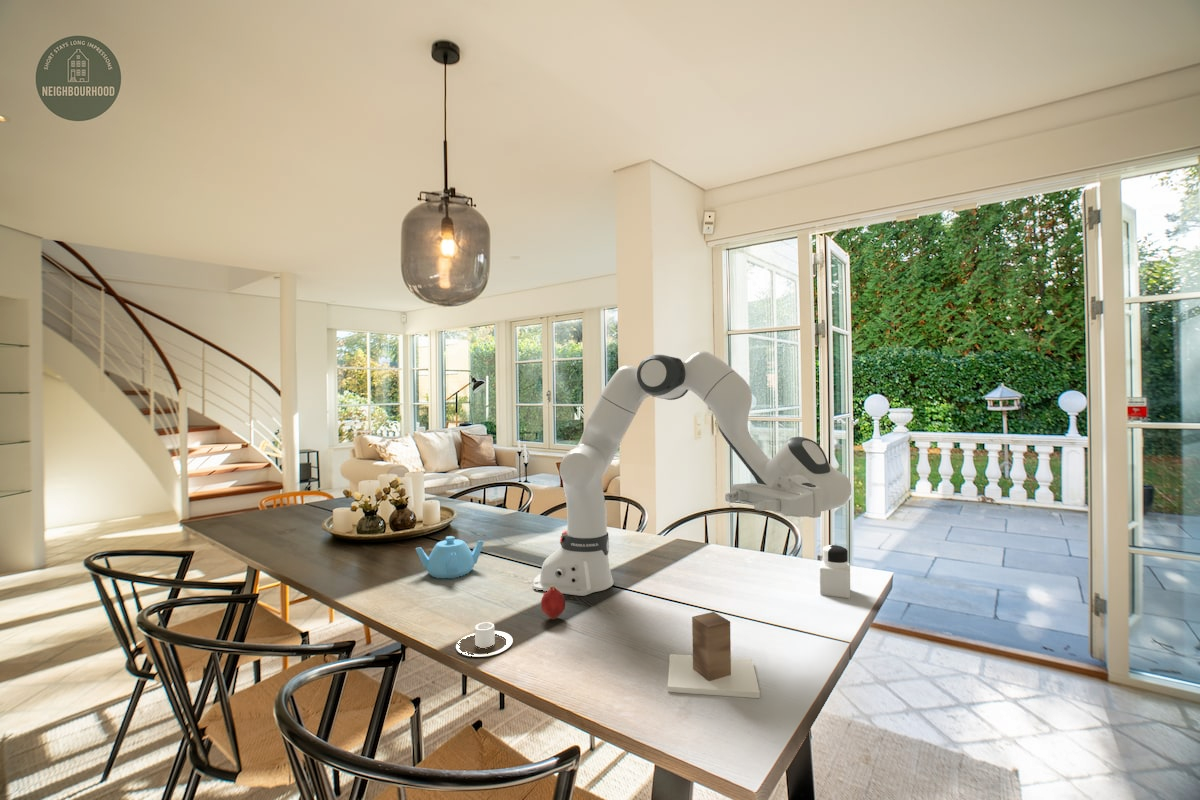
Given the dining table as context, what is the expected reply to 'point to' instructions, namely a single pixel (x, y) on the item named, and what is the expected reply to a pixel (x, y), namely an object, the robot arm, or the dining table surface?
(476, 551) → the teapot
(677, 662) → the serving plate
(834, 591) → the medicine bottle
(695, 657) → the walnut block
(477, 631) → the candle holder
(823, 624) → the dining table surface
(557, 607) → the onion
